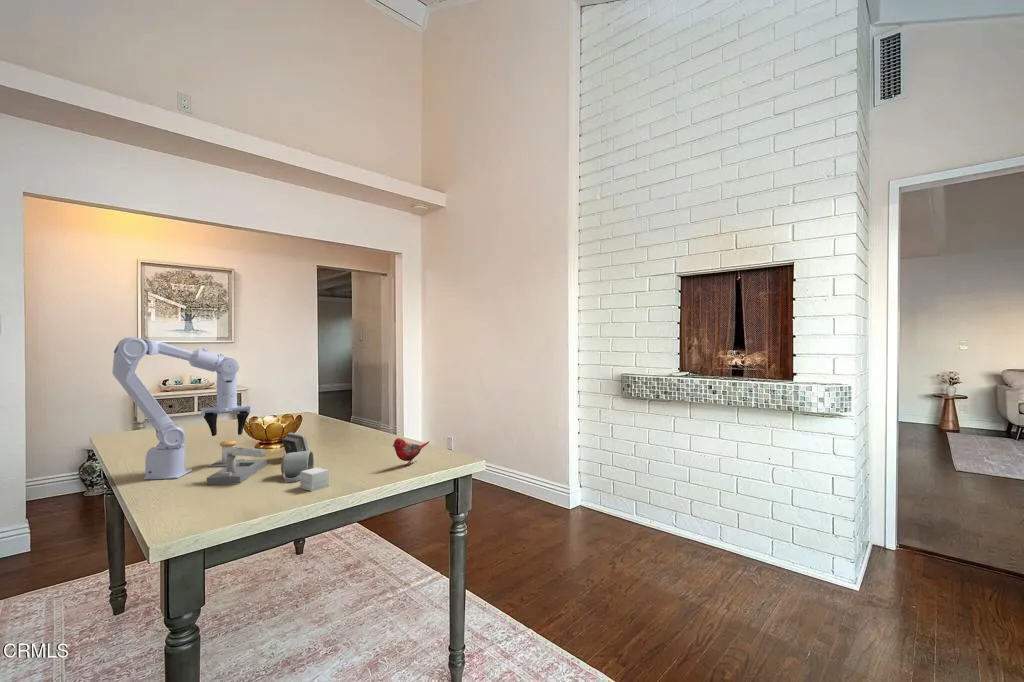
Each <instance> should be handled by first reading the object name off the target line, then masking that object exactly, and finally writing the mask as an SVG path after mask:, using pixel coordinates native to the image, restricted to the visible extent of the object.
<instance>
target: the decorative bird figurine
mask: <svg viewBox="0 0 1024 682" xmlns="http://www.w3.org/2000/svg"><path fill="white" fill-rule="evenodd" d="M429 443H430V441H426V442H424V443H423V444H420V445H419V444H417V443H411V442H406V441H405V439H403V438H399V437H397V438H396V439H395V440H394V441H393V445H391V446H392V447H393V448H394V451H395V454H396V456H397V458H399V460H401V461H403V462H407V463H405V464H404V465H402V467H408V466H411V465H412V464H413V460H414V459H415V458H416V457H417V456H418V455H419V454H420V453H421V450H422V449H423V448H424V447H425V446H427V445H428V444H429ZM410 464H411V465H410Z"/></svg>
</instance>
